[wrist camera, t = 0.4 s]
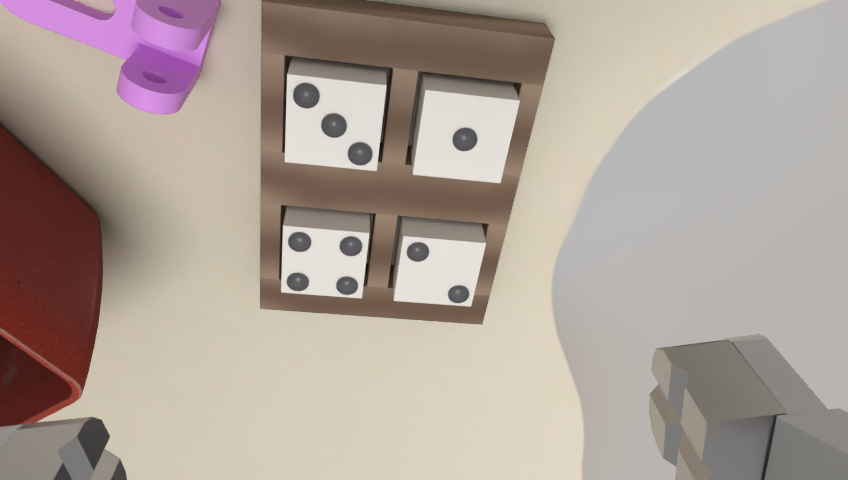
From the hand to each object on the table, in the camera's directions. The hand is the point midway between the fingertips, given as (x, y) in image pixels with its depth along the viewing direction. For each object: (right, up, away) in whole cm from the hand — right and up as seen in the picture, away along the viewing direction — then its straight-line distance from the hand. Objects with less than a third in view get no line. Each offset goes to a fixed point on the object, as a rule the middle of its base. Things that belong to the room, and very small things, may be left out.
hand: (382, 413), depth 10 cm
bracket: (-19, +18, +32) cm, 42 cm away
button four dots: (-7, +3, +41) cm, 42 cm away
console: (-2, +8, +40) cm, 41 cm away
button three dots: (-5, +12, +35) cm, 37 cm away
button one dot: (+3, +11, +36) cm, 38 cm away
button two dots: (+2, +2, +42) cm, 42 cm away
